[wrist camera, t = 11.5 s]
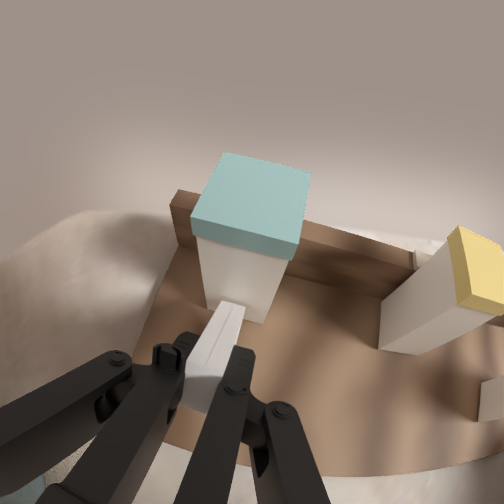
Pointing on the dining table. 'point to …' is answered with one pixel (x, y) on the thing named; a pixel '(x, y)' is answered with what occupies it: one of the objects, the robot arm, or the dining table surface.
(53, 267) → the dining table surface
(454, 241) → the middle button
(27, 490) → the blue-grey embossed cup
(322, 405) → the button console
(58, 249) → the dining table surface
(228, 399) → the robot arm
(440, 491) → the dining table surface
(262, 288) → the button
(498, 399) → the button
